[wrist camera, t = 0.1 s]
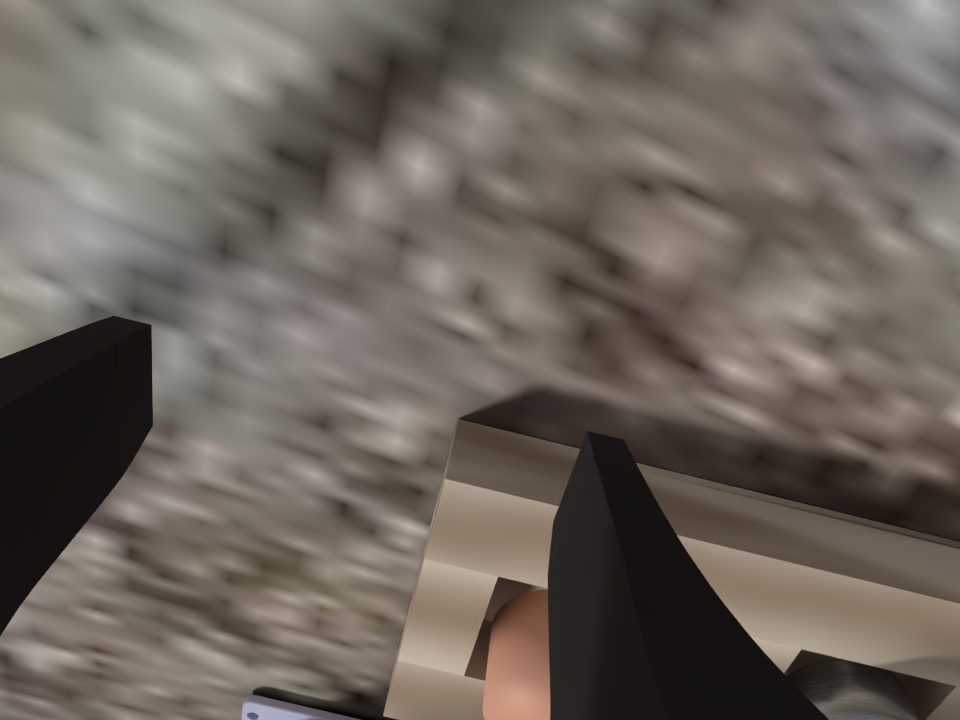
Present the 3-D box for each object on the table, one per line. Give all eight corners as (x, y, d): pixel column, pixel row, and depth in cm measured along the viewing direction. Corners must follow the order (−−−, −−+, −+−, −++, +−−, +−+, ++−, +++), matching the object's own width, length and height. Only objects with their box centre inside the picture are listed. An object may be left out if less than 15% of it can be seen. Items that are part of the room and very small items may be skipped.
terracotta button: (598, 687, 27) (601, 769, 24) (478, 659, 27) (469, 739, 24) (639, 607, 24) (647, 689, 22) (508, 575, 24) (501, 654, 22)
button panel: (866, 759, 31) (892, 834, 29) (398, 648, 31) (382, 716, 28) (1042, 561, 25) (1095, 636, 22) (458, 419, 24) (445, 478, 22)
